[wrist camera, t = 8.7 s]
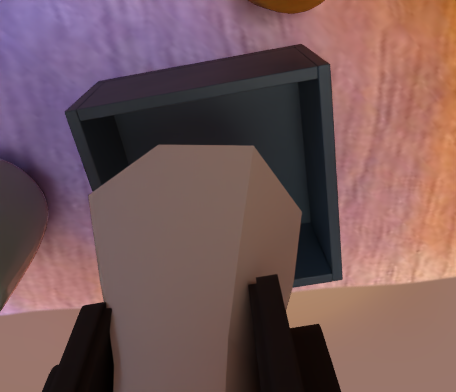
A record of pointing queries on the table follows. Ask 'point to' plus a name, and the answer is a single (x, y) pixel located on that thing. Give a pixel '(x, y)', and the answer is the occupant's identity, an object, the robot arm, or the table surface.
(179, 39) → the table surface
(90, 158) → the tub
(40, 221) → the cup
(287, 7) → the toy food
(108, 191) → the flask
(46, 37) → the table surface
